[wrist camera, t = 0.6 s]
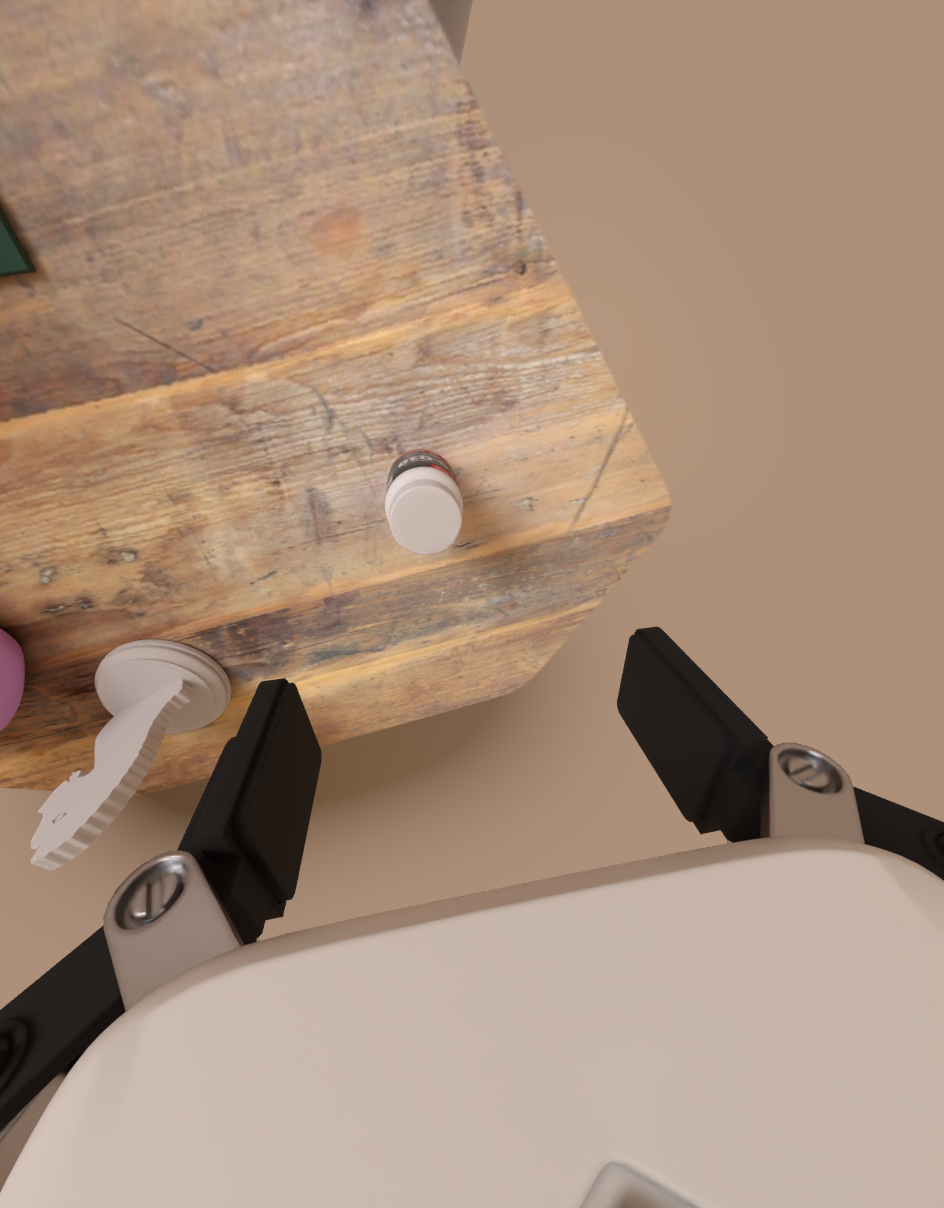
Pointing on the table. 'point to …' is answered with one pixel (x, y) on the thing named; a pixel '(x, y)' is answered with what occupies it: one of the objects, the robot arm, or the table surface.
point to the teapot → (10, 677)
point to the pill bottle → (423, 502)
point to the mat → (12, 251)
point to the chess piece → (129, 738)
